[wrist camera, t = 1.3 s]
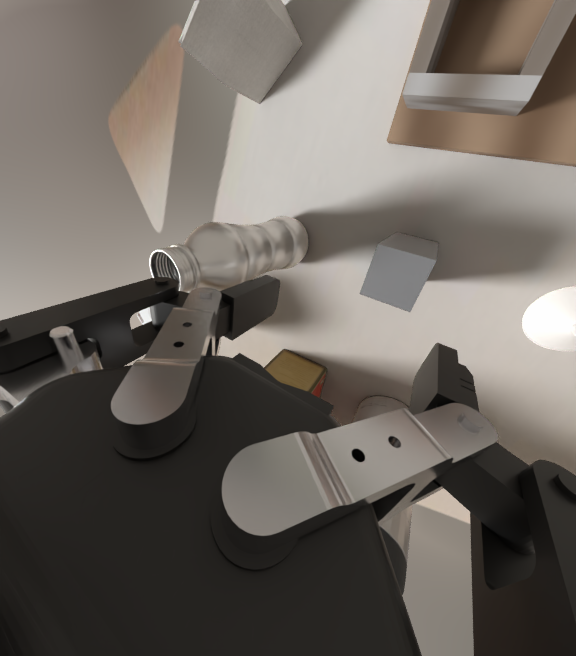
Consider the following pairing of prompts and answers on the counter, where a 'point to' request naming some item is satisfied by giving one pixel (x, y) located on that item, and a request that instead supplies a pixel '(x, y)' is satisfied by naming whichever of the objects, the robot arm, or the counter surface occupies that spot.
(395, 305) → the plug
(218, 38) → the small milk carton
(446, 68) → the socket board
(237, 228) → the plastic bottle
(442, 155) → the counter surface
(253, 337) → the counter surface
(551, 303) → the champagne flute
